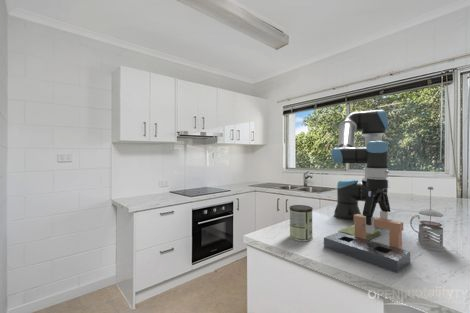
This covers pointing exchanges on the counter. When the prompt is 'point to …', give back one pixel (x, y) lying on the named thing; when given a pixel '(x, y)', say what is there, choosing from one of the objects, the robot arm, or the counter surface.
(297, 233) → the coffee can
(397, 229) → the staple
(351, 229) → the washcloth
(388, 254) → the grey slotted base block
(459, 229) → the counter surface
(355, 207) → the robot arm
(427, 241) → the french press
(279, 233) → the counter surface
